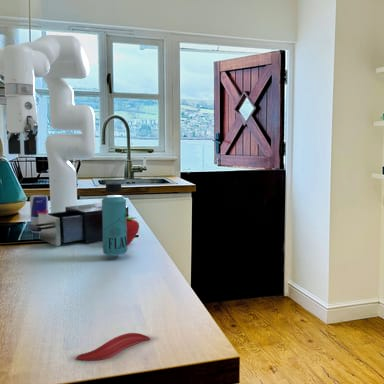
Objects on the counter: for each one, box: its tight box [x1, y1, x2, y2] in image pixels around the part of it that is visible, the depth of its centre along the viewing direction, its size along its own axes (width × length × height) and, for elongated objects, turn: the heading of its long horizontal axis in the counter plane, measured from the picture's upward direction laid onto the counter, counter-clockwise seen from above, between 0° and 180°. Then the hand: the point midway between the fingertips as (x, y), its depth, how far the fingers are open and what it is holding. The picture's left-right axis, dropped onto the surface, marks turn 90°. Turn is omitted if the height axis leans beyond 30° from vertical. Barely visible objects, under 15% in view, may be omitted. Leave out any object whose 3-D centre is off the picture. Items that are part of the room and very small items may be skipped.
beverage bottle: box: [101, 182, 128, 256], centre depth 126 cm, size 6×7×20 cm
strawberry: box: [126, 211, 140, 246], centre depth 141 cm, size 6×8×10 cm
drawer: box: [27, 211, 85, 246], centre depth 142 cm, size 18×11×8 cm, turn 136°
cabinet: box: [65, 202, 129, 245], centre depth 151 cm, size 15×13×10 cm
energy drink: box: [29, 194, 49, 235], centre depth 156 cm, size 5×5×12 cm
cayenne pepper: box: [75, 332, 151, 361], centre depth 75 cm, size 12×5×2 cm, turn 120°
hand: (22, 154), depth 134 cm, fingers open, 9 cm apart
